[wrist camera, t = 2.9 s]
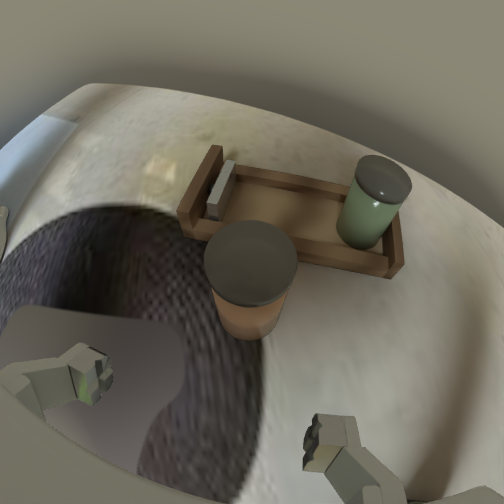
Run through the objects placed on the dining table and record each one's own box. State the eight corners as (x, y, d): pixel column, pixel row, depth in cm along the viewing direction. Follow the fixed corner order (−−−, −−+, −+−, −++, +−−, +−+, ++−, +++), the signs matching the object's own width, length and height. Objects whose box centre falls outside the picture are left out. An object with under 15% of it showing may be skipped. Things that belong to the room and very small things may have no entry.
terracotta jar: (210, 333, 22) (191, 288, 14) (226, 278, 24) (219, 213, 17) (272, 347, 21) (289, 310, 14) (284, 291, 24) (302, 229, 16)
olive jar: (333, 244, 26) (359, 187, 20) (335, 206, 29) (356, 149, 22) (381, 255, 26) (416, 203, 19) (378, 217, 29) (406, 164, 22)
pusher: (201, 222, 27) (197, 201, 25) (220, 180, 31) (218, 158, 28) (219, 226, 27) (216, 204, 24) (236, 182, 30) (235, 160, 28)
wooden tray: (184, 236, 27) (176, 210, 23) (214, 171, 32) (212, 144, 29) (390, 279, 25) (409, 258, 21) (385, 206, 30) (397, 182, 27)
